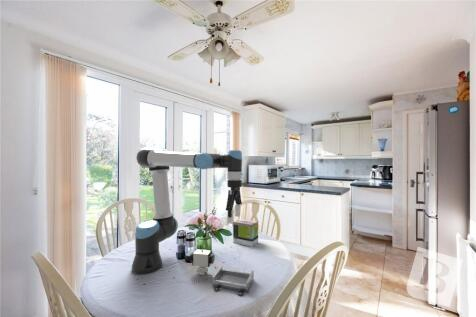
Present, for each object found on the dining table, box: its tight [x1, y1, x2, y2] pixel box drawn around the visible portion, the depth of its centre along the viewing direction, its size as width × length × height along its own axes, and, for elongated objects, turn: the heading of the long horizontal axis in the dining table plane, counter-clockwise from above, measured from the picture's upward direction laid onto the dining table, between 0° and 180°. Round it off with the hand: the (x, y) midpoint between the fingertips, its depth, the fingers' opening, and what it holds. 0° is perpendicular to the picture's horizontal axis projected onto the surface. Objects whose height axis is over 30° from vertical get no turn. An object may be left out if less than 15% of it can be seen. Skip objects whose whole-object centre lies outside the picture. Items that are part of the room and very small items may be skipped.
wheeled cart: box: [212, 265, 255, 297], centre depth 99 cm, size 17×13×4 cm
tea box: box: [232, 218, 259, 248], centre depth 150 cm, size 15×10×15 cm
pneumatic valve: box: [189, 249, 216, 276], centre depth 110 cm, size 6×12×12 cm, turn 78°
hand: (234, 219), depth 114 cm, fingers open, 13 cm apart
